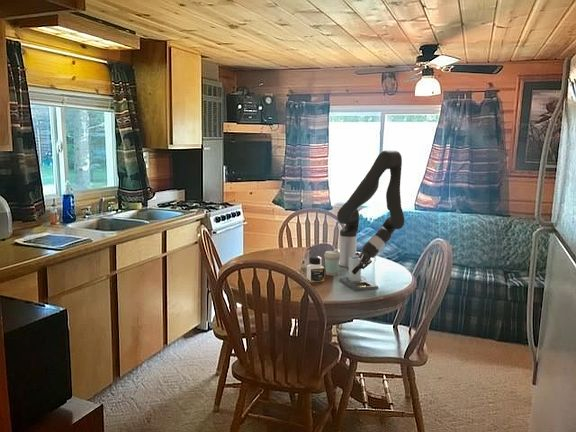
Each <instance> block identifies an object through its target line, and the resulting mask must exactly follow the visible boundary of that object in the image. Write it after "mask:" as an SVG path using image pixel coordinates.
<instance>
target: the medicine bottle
mask: <svg viewBox="0 0 576 432" xmlns="http://www.w3.org/2000/svg"><path fill="white" fill-rule="evenodd" d="M322 259H323V258H322V257H321V256H319V255H312V256H310V257H309V264H307V265H306V280H308V281H309V282H310V283H317V282H325V267H324V266H323V263H322V262H323V261H322Z"/></svg>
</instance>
